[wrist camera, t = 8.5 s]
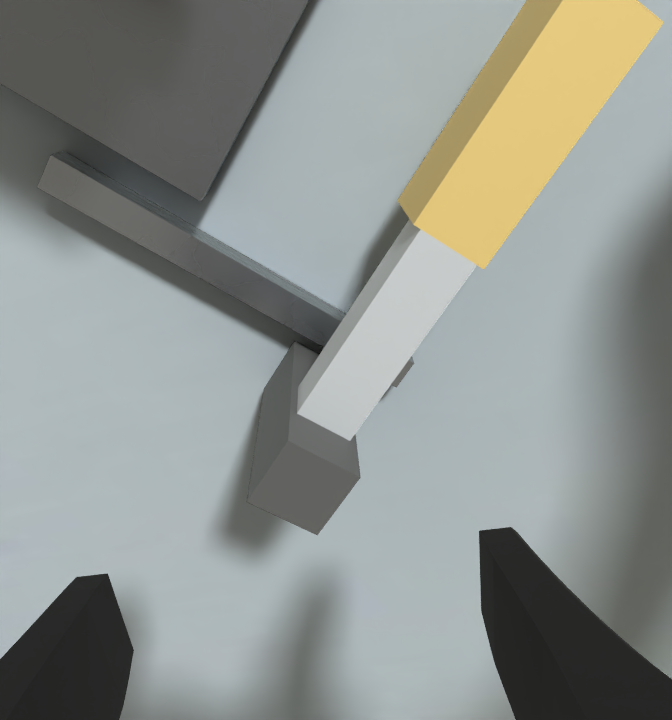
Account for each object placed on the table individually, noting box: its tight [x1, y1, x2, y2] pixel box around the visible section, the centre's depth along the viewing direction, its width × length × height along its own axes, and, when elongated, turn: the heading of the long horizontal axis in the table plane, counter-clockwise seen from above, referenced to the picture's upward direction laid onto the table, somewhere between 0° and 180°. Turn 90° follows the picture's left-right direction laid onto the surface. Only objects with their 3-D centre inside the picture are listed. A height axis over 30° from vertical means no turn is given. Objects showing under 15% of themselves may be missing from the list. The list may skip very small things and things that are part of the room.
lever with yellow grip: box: [247, 0, 664, 535], centre depth 16 cm, size 2×14×6 cm, turn 148°
